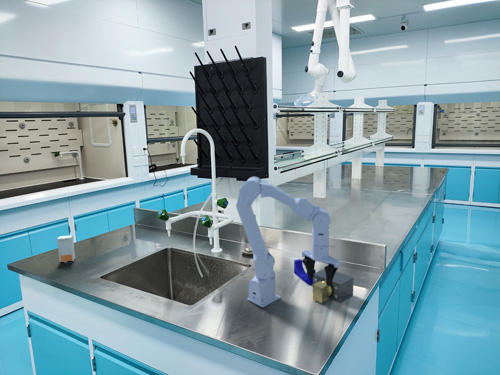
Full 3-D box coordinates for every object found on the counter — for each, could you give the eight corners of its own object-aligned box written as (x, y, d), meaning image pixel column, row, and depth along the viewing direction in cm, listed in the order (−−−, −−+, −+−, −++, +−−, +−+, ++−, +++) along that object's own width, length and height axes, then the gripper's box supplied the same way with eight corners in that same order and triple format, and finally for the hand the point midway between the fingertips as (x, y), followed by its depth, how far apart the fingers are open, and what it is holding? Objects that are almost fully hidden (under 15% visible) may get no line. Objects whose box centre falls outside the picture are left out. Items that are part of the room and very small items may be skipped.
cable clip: (318, 283, 136) (318, 269, 135) (308, 285, 135) (308, 271, 133) (303, 271, 147) (303, 258, 146) (294, 273, 146) (294, 260, 144)
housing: (339, 303, 120) (340, 285, 119) (311, 292, 129) (311, 274, 128) (353, 295, 126) (353, 277, 125) (325, 284, 135) (325, 267, 133)
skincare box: (59, 263, 162) (56, 239, 160) (61, 260, 166) (58, 236, 164) (73, 261, 164) (70, 237, 161) (75, 258, 168) (72, 234, 165)
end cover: (324, 304, 119) (324, 288, 118) (310, 298, 123) (311, 283, 122) (340, 293, 126) (341, 279, 125) (327, 288, 130) (328, 274, 129)
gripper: (345, 245, 116) (344, 283, 118) (310, 236, 126) (310, 271, 129) (333, 251, 111) (332, 290, 114) (298, 241, 122) (298, 277, 124)
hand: (320, 280), depth 121 cm, fingers open, 7 cm apart
